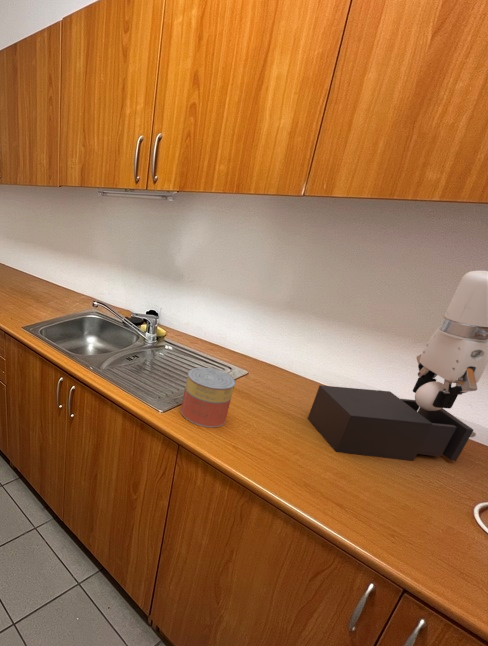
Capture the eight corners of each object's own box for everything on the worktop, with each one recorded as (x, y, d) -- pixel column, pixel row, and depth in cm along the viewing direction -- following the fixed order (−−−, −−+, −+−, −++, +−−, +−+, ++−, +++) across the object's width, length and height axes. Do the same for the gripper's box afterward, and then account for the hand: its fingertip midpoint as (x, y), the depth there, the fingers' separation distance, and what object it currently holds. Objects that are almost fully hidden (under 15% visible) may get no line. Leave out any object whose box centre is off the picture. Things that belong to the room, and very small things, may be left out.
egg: (414, 411, 92) (427, 384, 89) (406, 400, 96) (419, 374, 94) (446, 418, 90) (460, 390, 87) (437, 406, 94) (450, 380, 91)
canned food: (234, 419, 107) (245, 381, 103) (207, 432, 102) (217, 393, 98) (197, 399, 116) (205, 363, 112) (171, 410, 112) (178, 373, 107)
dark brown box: (375, 425, 104) (390, 391, 100) (413, 461, 92) (432, 423, 88) (307, 418, 107) (319, 385, 103) (335, 451, 95) (350, 415, 91)
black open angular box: (433, 430, 100) (448, 400, 97) (477, 463, 89) (496, 432, 86) (349, 421, 104) (361, 393, 101) (381, 452, 93) (395, 421, 90)
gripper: (527, 347, 77) (483, 423, 84) (453, 315, 92) (421, 382, 99) (480, 344, 78) (440, 419, 85) (415, 313, 93) (386, 379, 101)
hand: (431, 399), depth 92 cm, fingers closed on egg, 5 cm apart
